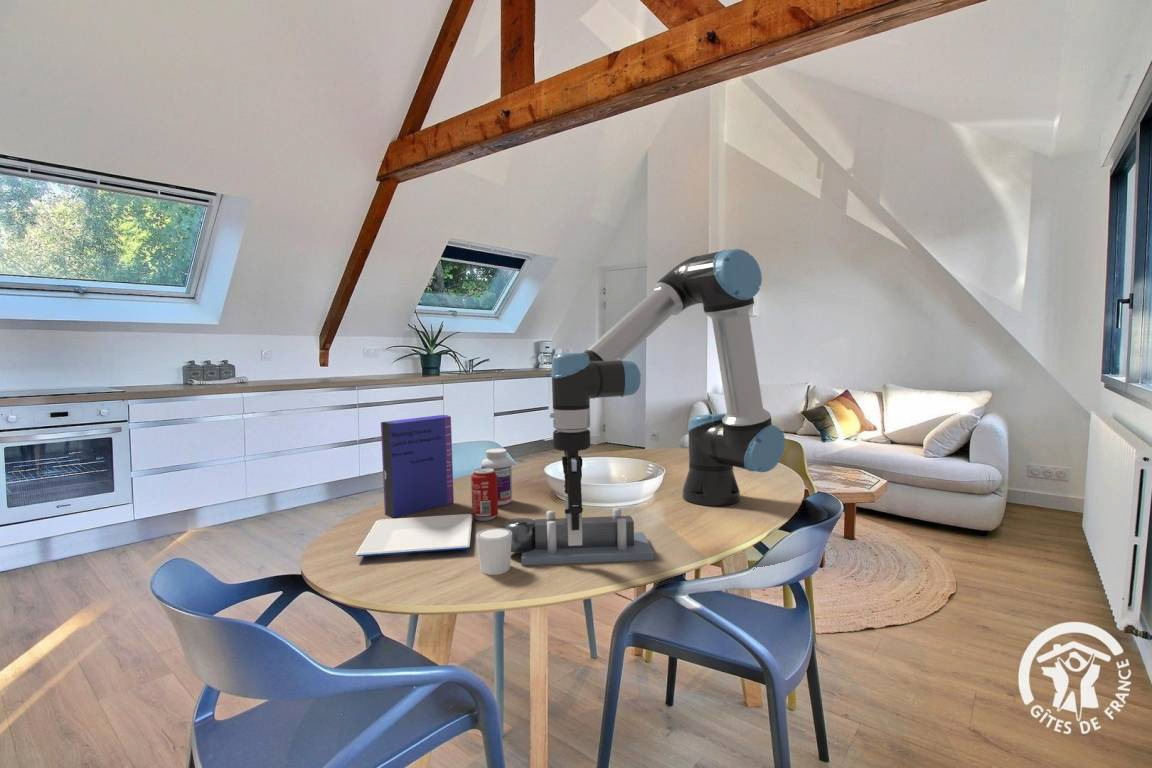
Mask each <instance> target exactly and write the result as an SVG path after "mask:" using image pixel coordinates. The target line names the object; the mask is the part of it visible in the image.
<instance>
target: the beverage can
mask: <svg viewBox="0 0 1152 768" xmlns="http://www.w3.org/2000/svg"><path fill="white" fill-rule="evenodd" d="M470 480H471V481H470V483H471V513H472V517H474V519H475V520H476V521H482V522H484V521H485V522H487V521H491V520H494V519H496V516H498V514H499V506H498V493H497V475H496V473H495V472H494V469H492V468H482V467H481V468H477V469H474V470H473V473H472V475H471V477H470Z"/></svg>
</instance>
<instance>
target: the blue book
mask: <svg viewBox="0 0 1152 768" xmlns="http://www.w3.org/2000/svg"><path fill="white" fill-rule="evenodd" d="M380 432H381V433H380V434H381V455H382V457H381V458H382V479H383V480H382V483H383V501H384V515H385V516H388V517H390V518H391V519H397V518H402V517H405V516H409V515H413V514H417V513H420V512H425V511H428V510H434V509H436V508H442V507H444V506H449V505H452V504H455V502H454V498H455V497H454V471H453V468H454V466H453V443H452V442H453V440H452V439H453V437H452V417H451V416H450V415H448V414H440V415H439V414H438V415H431V416H430V415H429V416H421V417H413V418H406V419H405V418H404V419H396V420H395V419H394V420H389V421H381V422H380Z"/></svg>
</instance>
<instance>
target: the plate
mask: <svg viewBox="0 0 1152 768" xmlns="http://www.w3.org/2000/svg"><path fill="white" fill-rule="evenodd" d="M472 522H473V515H472V514H471V513H465V514H464V513H462V514H450V515H449V514H448V515H446V514H445V515H433V516H432V515H431V516H417V517H397V518H387V519H386V518H384V519H377V520H376V521H375V522H374V524H373V526H372V527H371V528H370V531H369V532H368V534H367V536H366V537H365V538H364V540H363V542H362V543H361V544H360V547H359V548H358V549H357V551H356V553H355V556H356V557H370V556H371V557H372V556H382V555H383V556H384V555H398V554H411V553H412V554H413V553H424V552H425V553H426V552H439V551H454V550H467V549H469V548H470V545H471V534H472V524H473V523H472Z"/></svg>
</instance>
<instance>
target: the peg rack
mask: <svg viewBox="0 0 1152 768" xmlns="http://www.w3.org/2000/svg"><path fill="white" fill-rule="evenodd" d="M612 516H622V509H621V508H619V507H615V508H612ZM546 519H556V511H555V510H547V511H546ZM547 548H548V549H544V550H536V548H535V549H534V550H532V551H529V552H523V553H521V557H520V558H521V559H520V562H521V566H541V565H542V566H543V565H544V566H546V565H567V564H568V565H569V564H588V563H589V564H590V563H591V564H592V563H615V562H616V563H617V562H635V561H636V562H640V561H655V551H654V549H653V548H652V546H651V544H650V542H649V540H648V539H647V537H646V535H645V533H644V532H643V531H640V532H639V531H634V546H626V519H623V518H620V519H617V547H593V548H568V549H557V545H556V522H555V521H548V522H547Z"/></svg>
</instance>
